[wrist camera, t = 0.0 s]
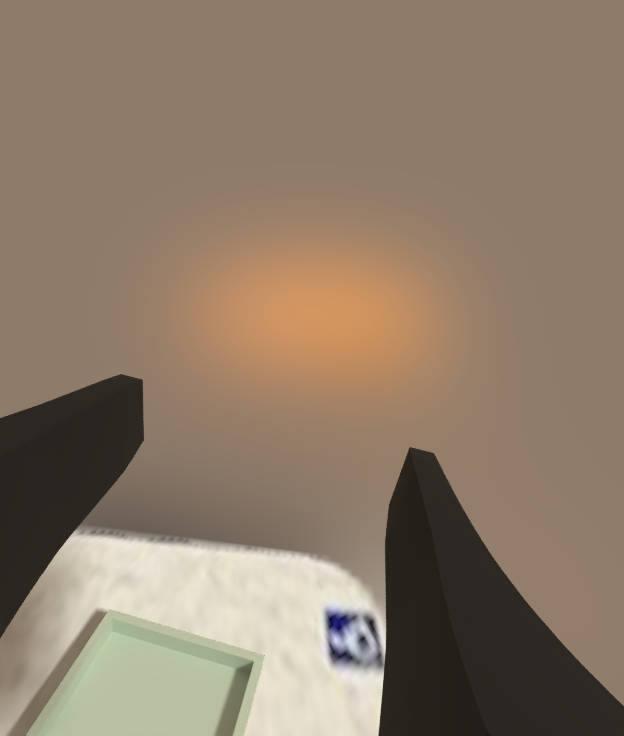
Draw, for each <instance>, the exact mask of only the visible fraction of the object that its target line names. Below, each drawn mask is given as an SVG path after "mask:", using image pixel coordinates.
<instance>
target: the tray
mask: <svg viewBox="0 0 624 736" xmlns="http://www.w3.org/2000/svg"><path fill="white" fill-rule="evenodd" d="M264 656H265V655H262V654H258V653H255V652H252V651H248V650H245V649H241V648H238V647H235V646H231V645H228V644H225V643H221V642H218V641H215V640H211V639H208V638H204V637H201V636H198V635H194V634H191V633H188V632H184V631H181V630H178V629H174V628H171V627H168V626H164V625H161V624H157V623H154V622H151V621H147V620H144V619H141V618H137V617H134V616H131V615H127V614H124V613H121V612H117V611H114V610H110V609H109V611H108V612H107V614H106V615H105V617H104V618H103V620H102V621H101V623H100V624H99V626H98V627H97V629H96V630H95V632H94V633H93V635H92V636H91V638H90V639H89V641H88V642H87V644H86V645H85V647H84V648H83V650H82V651H81V653H80V654H79V656H78V657H77V659H76V660H75V662H74V663H73V665H72V666H71V668H70V669H69V671H68V672H67V674H66V675H65V677H64V678H63V680H62V681H61V683H60V684H59V686H58V687H57V689H56V690H55V692H54V693H53V695H52V697H51V698H50V700H49V701H48V703H47V704H46V706H45V707H44V709H43V710H42V712H41V713H40V715H39V716H38V718H37V719H36V721H35V722H34V724H33V725H32V727H31V728H30V730H29V731H28V733H27V734H26V736H244V733H245V729H246V725H247V722H248V718H249V714H250V710H251V707H252V703H253V699H254V696H255V692H256V688H257V684H258V681H259V677H260V673H261V669H262V665H263V660H264Z"/></svg>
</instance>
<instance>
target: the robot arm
mask: <svg viewBox="0 0 624 736" xmlns="http://www.w3.org/2000/svg"><path fill="white" fill-rule="evenodd" d="M143 440H144V427H143V380H142V379H137V378H133V377H130V376H126V375H122V374H121V375H118V376H114V377H112V378H108V379H106V380H103V381H100V382H98V383H95V384H92V385H90V386H87V387H85V388H82V389H80V390H77V391H74V392H72V393H69V394H66V395H64V396H61V397H59V398H56V399H53V400H51V401H48V402H46V403H43V404H40V405H38V406H34V407H32V408H29V409H26V410H23V411H20V412H18V413H14V414H11V415H8V416H5V417H3V418H0V638H1V636H2V634H3V633H4V631H5V630H6V628H7V626H8V625H9V623H10V622H11V620H12V619H13V617H14V616H15V614H16V613H17V611H18V610H19V608H20V606H21V605H22V603H23V602H24V600H25V599H26V597H27V596H28V594H29V593H30V591H31V590H32V588H33V587H34V585H35V584H36V582H37V581H38V579H39V578H40V576H41V575H42V574H43V572H44V571H45V569H46V568H47V566H48V565H49V563H50V562H51V560H52V559H53V558H54V556H55V555H56V553H57V552H58V551H59V549H60V548H61V547H62V546H63V544H64V543H65V542H66V540H67V539H68V538H69V537H70V535H71V534H72V533H73V532H74V531H75V530H76V528H77V527H78V526H79V525H80V524H81V522H82V521H83V520H84V519H85V518H86V516H87V515H88V514H89V513H90V512H91V511H92V509H93V508H94V507H95V506H96V505H97V503H98V502H99V501H100V500H101V498H102V497H103V496H104V495H105V494H106V493H107V491H108V490H109V489H110V488H111V486H112V485H113V484H114V483H115V482H116V481H117V479H118V478H119V477H120V475H121V474H122V473H123V472H124V471H125V469H126V468H127V466H128V464H129V463H130V461H131V460H132V458H133V457H134V455H135V454H136V452H137V450H138V449H139V447H140V445H141V444H142V442H143ZM385 573H386V654H385V667H384V680H383V692H382V704H381V715H380V726H379V736H624V706H623V705H622V704H621V703H620V702H619V701H618V700H617V699H616V698H615V697H614V696H613V695H611V694H610V693H609V691H607V689H606V688H605V687H604V686H603V685H602V684H600V682H599V681H598V680H597V679H596V678H595V677H594V676H593V675H592V674H591V673H590V672H589V671H588V670H587V669H586V668H585V667H584V666H583V665H582V664H581V663H580V662H579V661H578V660H577V659H576V658H575V657H574V656H573V655H572V653H571V652H570V651H569V650H568V649H567V648H566V647H565V646H564V645H563V644H562V643H561V642H560V641H559V639H558V638H557V637H556V636H555V635H554V634H553V633H552V631H551V630H550V629H549V628H548V627H547V626H546V625H545V623H544V622H543V621H542V620H541V619H540V618H539V616H538V615H537V614H536V613H535V612H534V611H533V609H532V608H531V607H530V606H529V605H528V603H527V602H526V601H525V600H524V598H523V597H522V596H521V595H520V593H519V592H518V591H517V589H516V588H515V587H514V585H513V584H512V583H511V581H510V580H509V579H508V578H507V576H506V575H505V574H504V572H503V571H502V569H501V568H500V567H499V565H498V564H497V562H496V561H495V560H494V558H493V557H492V555H491V554H490V552H489V551H488V549H487V548H486V546H485V544H484V543H483V542H482V540H481V538H480V537H479V535H478V533H477V532H476V530H475V529H474V527H473V525H472V524H471V522H470V520H469V518H468V517H467V515H466V513H465V511H464V510H463V508H462V506H461V505H460V503H459V501H458V499H457V497H456V495H455V494H454V491H453V490H452V488H451V486H450V484H449V482H448V480H447V478H446V476H445V474H444V472H443V470H442V468H441V466H440V464H439V462H438V460H437V458H436V456H435V455H434V453H431V452H427V451H423V450H419V449H415V448H411V447H410V448H409V451H408V453H407V456H406V459H405V462H404V465H403V467H402V470H401V473H400V476H399V479H398V482H397V484H396V487H395V490H394V492H393V496H392V498H391V501H390V504H389V511H388V520H387V528H386V539H385Z"/></svg>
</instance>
